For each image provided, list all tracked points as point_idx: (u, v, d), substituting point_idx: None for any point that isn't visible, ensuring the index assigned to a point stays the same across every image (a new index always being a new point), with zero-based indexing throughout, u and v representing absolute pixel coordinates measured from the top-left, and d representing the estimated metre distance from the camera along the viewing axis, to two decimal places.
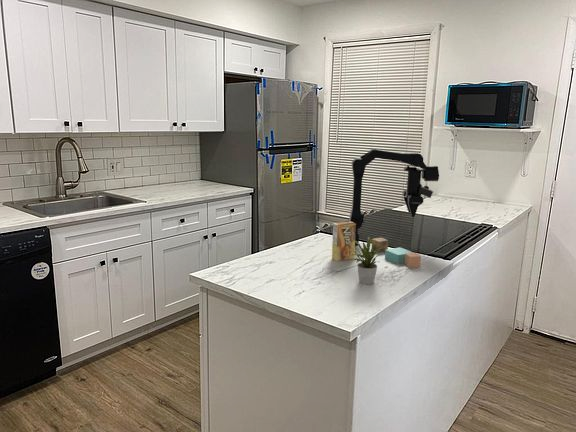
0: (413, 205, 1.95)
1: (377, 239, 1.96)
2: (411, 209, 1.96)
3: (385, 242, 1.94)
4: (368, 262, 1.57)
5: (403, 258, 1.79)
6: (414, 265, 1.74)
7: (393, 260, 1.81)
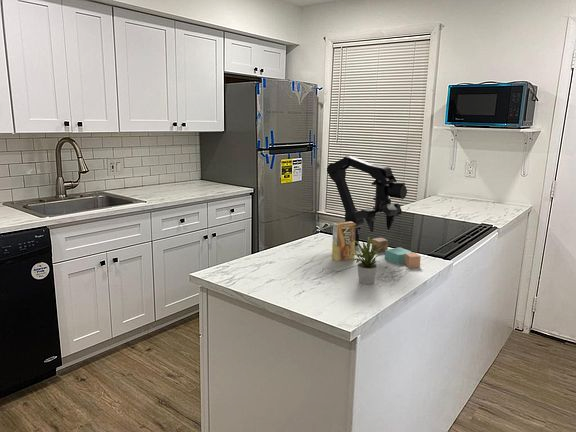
0: (369, 219, 1.91)
1: (377, 239, 1.96)
2: (368, 223, 1.92)
3: (385, 242, 1.94)
4: (368, 262, 1.57)
5: (403, 258, 1.79)
6: (414, 265, 1.74)
7: (393, 260, 1.81)
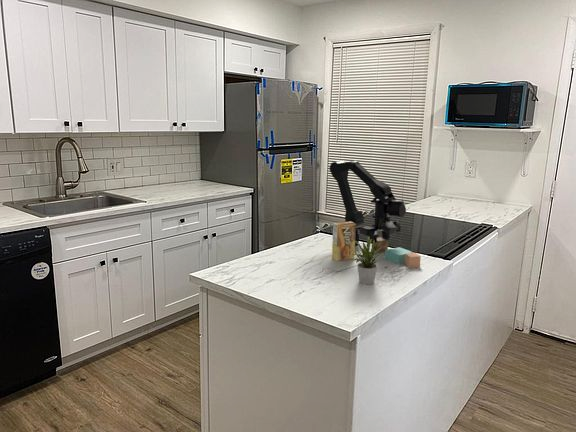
0: (372, 236, 1.94)
1: (377, 239, 1.96)
2: (371, 240, 1.95)
3: (385, 242, 1.94)
4: (368, 262, 1.57)
5: (404, 258, 1.79)
6: (414, 265, 1.74)
7: (394, 260, 1.80)
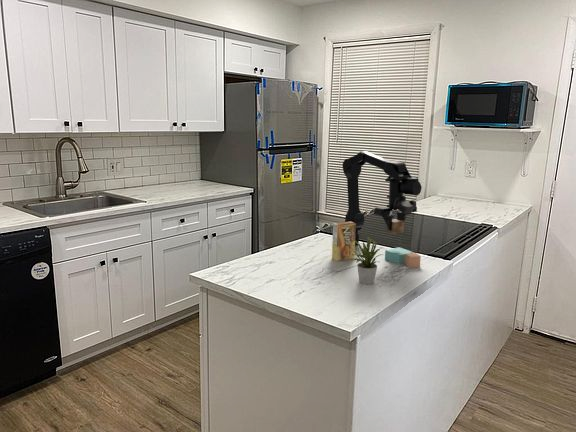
0: (387, 217, 1.83)
1: (392, 220, 1.84)
2: (386, 221, 1.84)
3: (401, 223, 1.83)
4: (368, 262, 1.57)
5: (404, 258, 1.79)
6: (414, 265, 1.74)
7: (394, 260, 1.80)
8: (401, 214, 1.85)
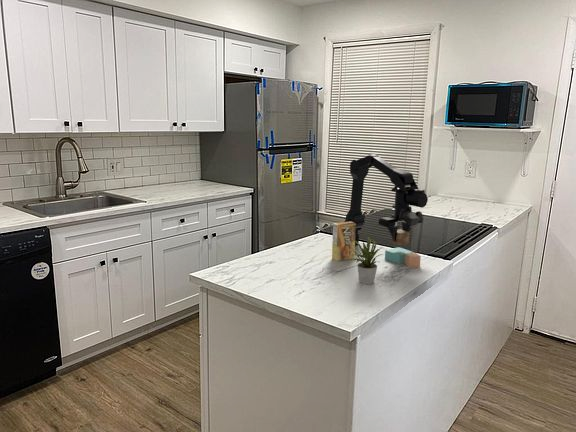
0: (392, 228, 1.79)
1: (397, 231, 1.81)
2: (390, 232, 1.80)
3: (406, 234, 1.80)
4: (368, 262, 1.57)
5: (404, 258, 1.79)
6: (414, 265, 1.74)
7: (394, 260, 1.80)
8: (406, 225, 1.82)
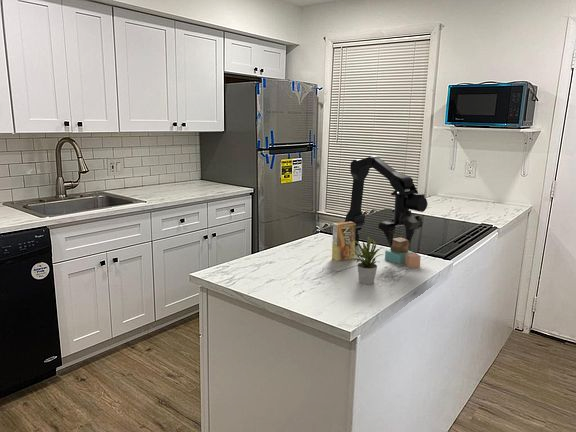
0: (388, 233, 1.79)
1: (397, 239, 1.82)
2: (387, 237, 1.80)
3: (405, 242, 1.80)
4: (368, 262, 1.57)
5: (404, 258, 1.80)
6: (414, 265, 1.74)
7: (394, 260, 1.80)
8: None
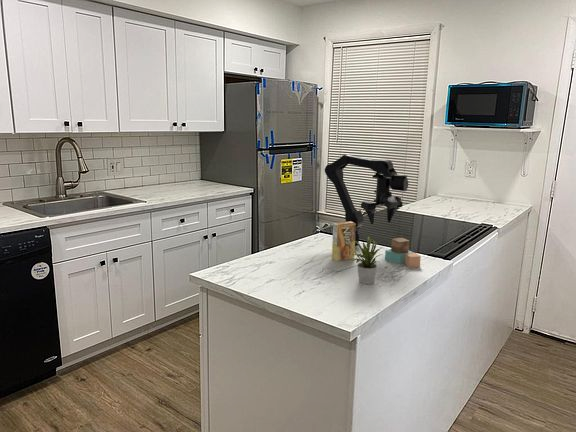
0: (370, 212, 1.93)
1: (397, 239, 1.82)
2: (368, 215, 1.94)
3: (406, 242, 1.80)
4: (368, 262, 1.57)
5: (404, 258, 1.80)
6: (414, 265, 1.74)
7: (394, 260, 1.80)
8: (390, 208, 1.97)
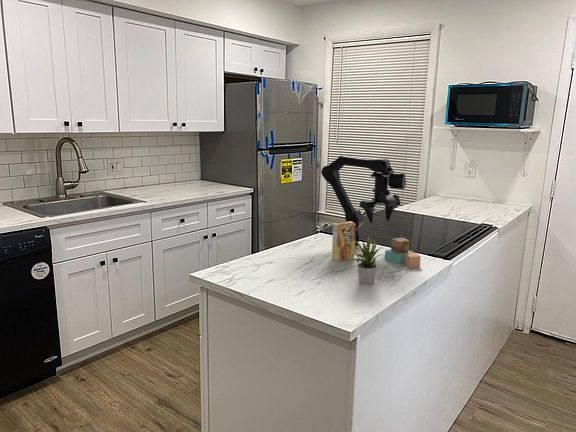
0: (368, 211, 1.95)
1: (397, 239, 1.82)
2: (367, 214, 1.96)
3: (406, 242, 1.80)
4: (368, 262, 1.57)
5: (404, 258, 1.80)
6: (414, 265, 1.74)
7: (394, 260, 1.80)
8: (389, 207, 1.99)
